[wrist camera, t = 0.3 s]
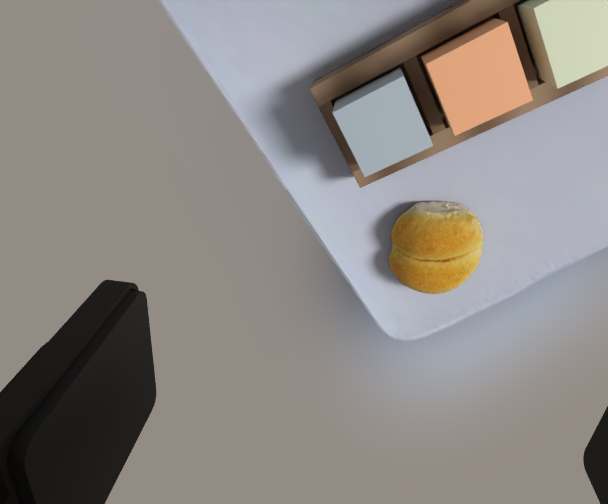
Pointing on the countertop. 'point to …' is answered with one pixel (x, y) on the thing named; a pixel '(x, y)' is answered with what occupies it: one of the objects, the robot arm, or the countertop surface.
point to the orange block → (477, 75)
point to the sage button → (566, 37)
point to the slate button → (382, 123)
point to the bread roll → (435, 246)
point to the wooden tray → (407, 55)
